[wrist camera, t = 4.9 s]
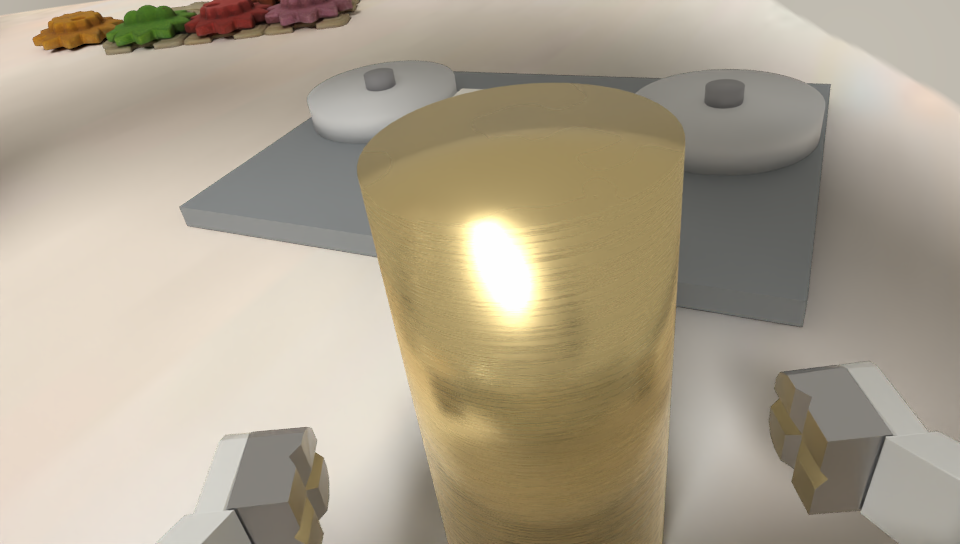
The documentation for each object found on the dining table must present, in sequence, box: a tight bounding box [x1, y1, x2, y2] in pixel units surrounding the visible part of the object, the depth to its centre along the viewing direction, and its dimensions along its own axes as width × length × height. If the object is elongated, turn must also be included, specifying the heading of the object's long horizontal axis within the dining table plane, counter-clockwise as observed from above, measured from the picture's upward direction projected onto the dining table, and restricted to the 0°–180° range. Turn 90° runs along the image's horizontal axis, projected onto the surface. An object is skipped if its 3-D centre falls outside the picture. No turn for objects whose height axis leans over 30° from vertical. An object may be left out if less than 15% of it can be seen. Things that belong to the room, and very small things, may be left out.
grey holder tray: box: [180, 61, 831, 327], centre depth 32 cm, size 26×18×3 cm
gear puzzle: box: [33, 0, 360, 55], centre depth 65 cm, size 31×16×4 cm, turn 90°
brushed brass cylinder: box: [357, 83, 685, 544], centre depth 14 cm, size 5×5×10 cm
